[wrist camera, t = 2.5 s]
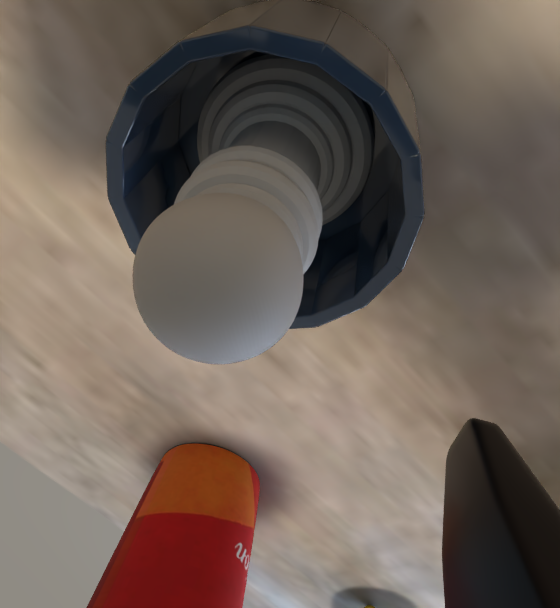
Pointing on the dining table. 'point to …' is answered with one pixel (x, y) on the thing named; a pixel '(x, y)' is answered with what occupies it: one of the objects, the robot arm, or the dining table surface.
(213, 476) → the paper cup
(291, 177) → the chess piece
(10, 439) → the dining table surface
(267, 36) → the ceramic cup
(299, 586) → the dining table surface
